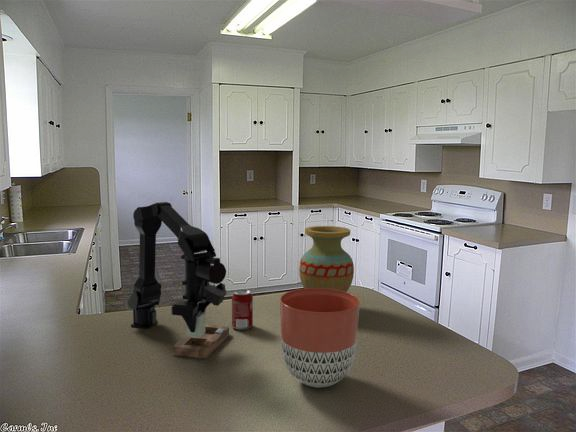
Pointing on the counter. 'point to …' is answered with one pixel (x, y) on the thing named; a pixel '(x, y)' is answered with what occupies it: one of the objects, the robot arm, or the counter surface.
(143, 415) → the counter surface
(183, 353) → the socket block
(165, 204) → the robot arm
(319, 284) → the vase
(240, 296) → the soda can
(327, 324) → the planter
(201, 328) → the plug
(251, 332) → the counter surface
